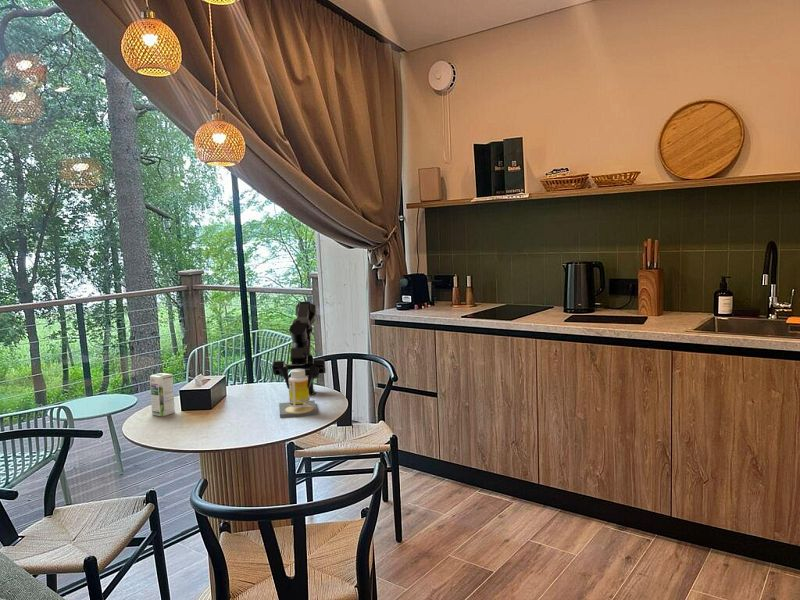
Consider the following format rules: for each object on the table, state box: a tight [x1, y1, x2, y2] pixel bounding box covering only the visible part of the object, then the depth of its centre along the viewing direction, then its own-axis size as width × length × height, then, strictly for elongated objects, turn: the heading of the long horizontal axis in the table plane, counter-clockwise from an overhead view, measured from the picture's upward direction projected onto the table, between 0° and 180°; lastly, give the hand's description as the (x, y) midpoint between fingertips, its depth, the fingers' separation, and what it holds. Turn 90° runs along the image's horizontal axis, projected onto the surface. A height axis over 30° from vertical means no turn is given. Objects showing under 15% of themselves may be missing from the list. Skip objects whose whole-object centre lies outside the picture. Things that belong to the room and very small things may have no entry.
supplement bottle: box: [288, 369, 310, 408], centre depth 207 cm, size 7×7×13 cm
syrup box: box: [149, 372, 176, 417], centre depth 210 cm, size 6×6×14 cm
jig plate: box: [278, 400, 318, 418], centre depth 210 cm, size 16×13×2 cm
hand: (298, 387), depth 206 cm, fingers closed on supplement bottle, 7 cm apart
